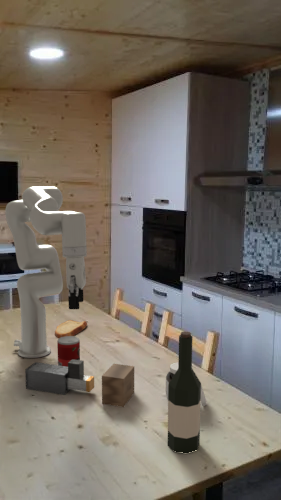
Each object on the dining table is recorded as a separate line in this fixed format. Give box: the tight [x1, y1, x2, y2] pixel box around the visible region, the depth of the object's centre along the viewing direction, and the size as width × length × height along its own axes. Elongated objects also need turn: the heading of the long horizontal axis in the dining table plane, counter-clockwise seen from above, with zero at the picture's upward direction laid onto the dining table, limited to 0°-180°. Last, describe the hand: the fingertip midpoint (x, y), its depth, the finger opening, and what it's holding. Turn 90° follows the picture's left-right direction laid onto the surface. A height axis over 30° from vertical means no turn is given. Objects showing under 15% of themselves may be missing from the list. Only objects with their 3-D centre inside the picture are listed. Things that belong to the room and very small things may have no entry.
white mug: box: [165, 361, 208, 407], centre depth 143 cm, size 12×11×12 cm
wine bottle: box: [167, 331, 202, 454], centre depth 119 cm, size 8×8×30 cm
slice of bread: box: [54, 319, 88, 339], centre depth 211 cm, size 18×18×4 cm
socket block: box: [101, 363, 135, 408], centre depth 146 cm, size 7×10×9 cm
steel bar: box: [66, 359, 95, 393], centre depth 152 cm, size 20×4×9 cm, turn 72°
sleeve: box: [25, 361, 71, 396], centre depth 153 cm, size 14×6×7 cm, turn 72°
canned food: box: [56, 336, 81, 367], centre depth 168 cm, size 8×8×11 cm
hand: (76, 305), depth 149 cm, fingers open, 9 cm apart
